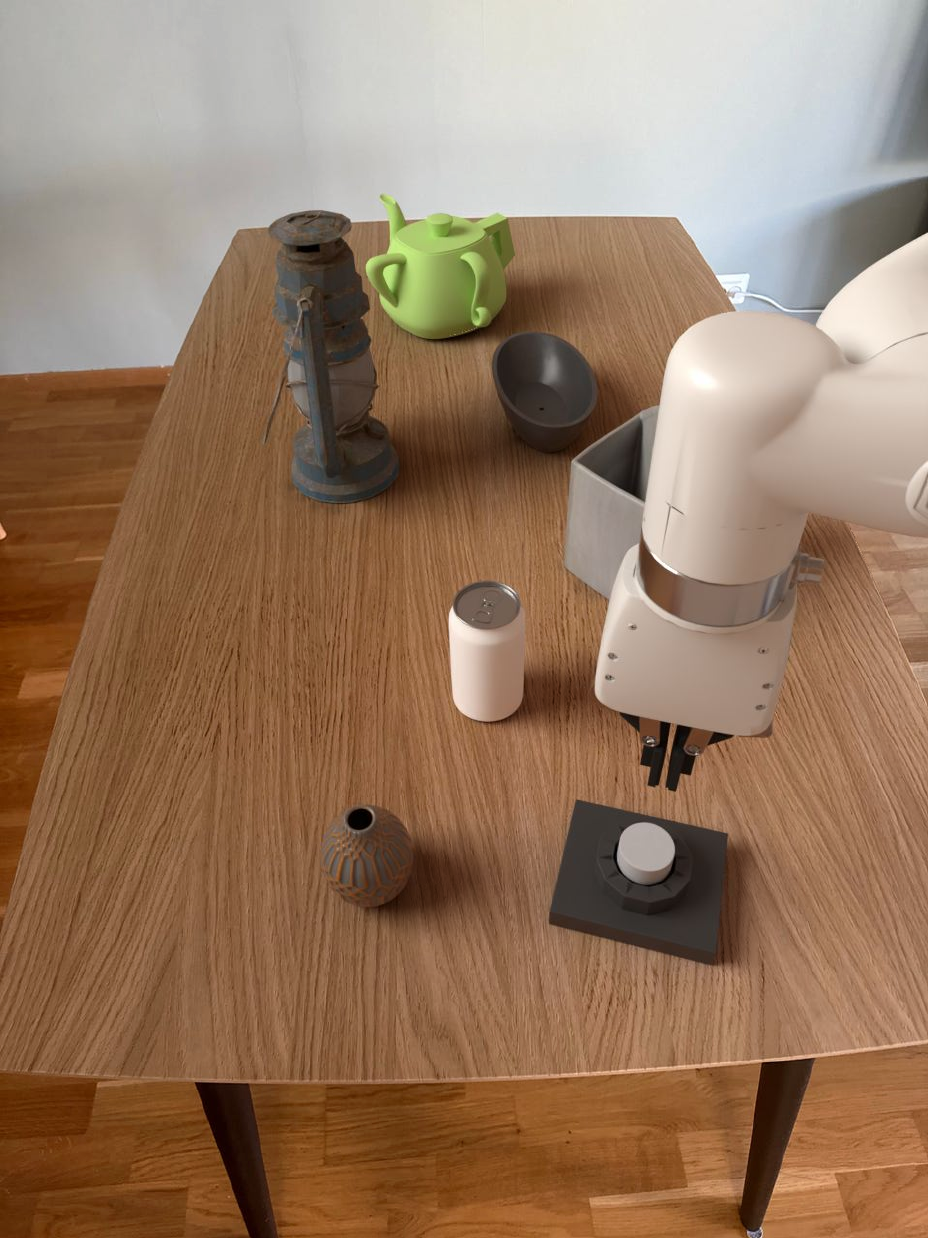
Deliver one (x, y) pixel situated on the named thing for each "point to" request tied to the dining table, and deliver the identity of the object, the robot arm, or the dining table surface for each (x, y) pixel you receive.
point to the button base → (636, 913)
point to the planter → (609, 501)
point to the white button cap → (645, 853)
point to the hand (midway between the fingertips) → (664, 770)
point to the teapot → (442, 272)
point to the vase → (367, 855)
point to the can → (487, 650)
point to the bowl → (544, 388)
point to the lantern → (328, 362)
